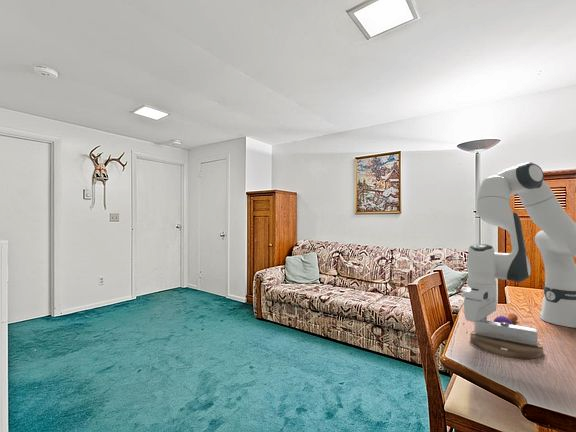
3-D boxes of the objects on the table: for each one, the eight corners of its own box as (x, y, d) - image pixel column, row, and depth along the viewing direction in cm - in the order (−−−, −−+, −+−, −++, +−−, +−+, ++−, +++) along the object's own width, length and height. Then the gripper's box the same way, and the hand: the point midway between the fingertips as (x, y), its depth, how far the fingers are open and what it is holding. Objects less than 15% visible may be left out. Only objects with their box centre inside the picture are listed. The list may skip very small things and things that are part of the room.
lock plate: (473, 330, 117) (473, 323, 117) (540, 343, 105) (540, 335, 105) (467, 348, 101) (467, 341, 101) (545, 366, 89) (545, 357, 89)
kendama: (523, 313, 125) (512, 321, 111) (519, 327, 126) (508, 336, 112) (506, 308, 129) (493, 314, 116) (502, 321, 130) (490, 329, 116)
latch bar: (474, 333, 106) (474, 319, 106) (475, 330, 109) (475, 316, 109) (537, 345, 96) (537, 330, 96) (536, 342, 99) (536, 326, 99)
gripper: (482, 283, 117) (482, 319, 118) (460, 293, 105) (460, 332, 105) (501, 286, 113) (501, 323, 113) (480, 296, 100) (480, 338, 100)
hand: (481, 328), depth 109 cm, fingers closed
